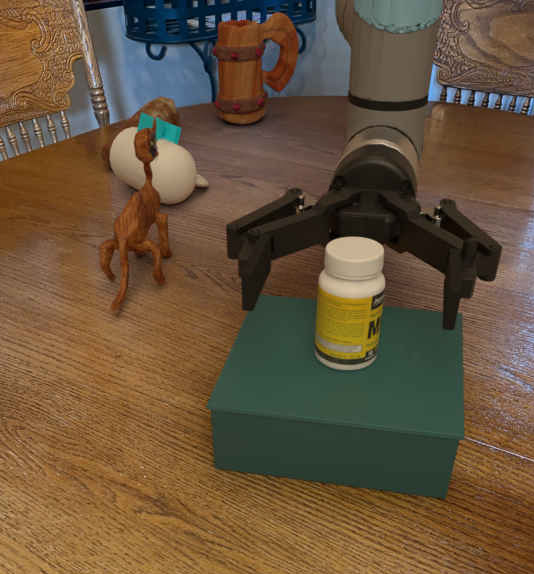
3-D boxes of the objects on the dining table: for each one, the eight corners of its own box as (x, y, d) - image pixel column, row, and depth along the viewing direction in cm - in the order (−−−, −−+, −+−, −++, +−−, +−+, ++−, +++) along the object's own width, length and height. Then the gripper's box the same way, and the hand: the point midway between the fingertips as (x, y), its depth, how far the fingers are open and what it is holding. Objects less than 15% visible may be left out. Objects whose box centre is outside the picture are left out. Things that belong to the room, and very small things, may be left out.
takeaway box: (450, 374, 61) (463, 313, 57) (449, 501, 50) (465, 436, 45) (255, 353, 64) (255, 293, 60) (210, 470, 52) (205, 404, 48)
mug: (223, 131, 114) (218, 22, 104) (207, 117, 119) (201, 13, 109) (305, 121, 118) (308, 16, 108) (286, 108, 123) (287, 7, 113)
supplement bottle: (374, 375, 51) (388, 266, 45) (310, 369, 51) (315, 260, 46) (378, 341, 54) (391, 236, 49) (318, 335, 55) (323, 231, 49)
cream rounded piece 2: (170, 126, 82) (119, 104, 89) (151, 205, 86) (104, 178, 93) (244, 150, 90) (192, 128, 97) (224, 220, 94) (176, 195, 101)
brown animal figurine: (147, 324, 68) (129, 180, 59) (82, 320, 68) (53, 176, 59) (187, 246, 81) (177, 118, 72) (132, 243, 82) (115, 115, 73)
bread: (183, 135, 112) (180, 97, 108) (128, 175, 99) (123, 133, 95) (147, 131, 113) (143, 93, 110) (89, 170, 100) (82, 128, 96)
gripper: (509, 239, 62) (528, 369, 47) (238, 218, 66) (172, 333, 51) (530, 150, 57) (558, 264, 42) (235, 133, 61) (161, 232, 46)
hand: (347, 302), depth 46 cm, fingers open, 13 cm apart
